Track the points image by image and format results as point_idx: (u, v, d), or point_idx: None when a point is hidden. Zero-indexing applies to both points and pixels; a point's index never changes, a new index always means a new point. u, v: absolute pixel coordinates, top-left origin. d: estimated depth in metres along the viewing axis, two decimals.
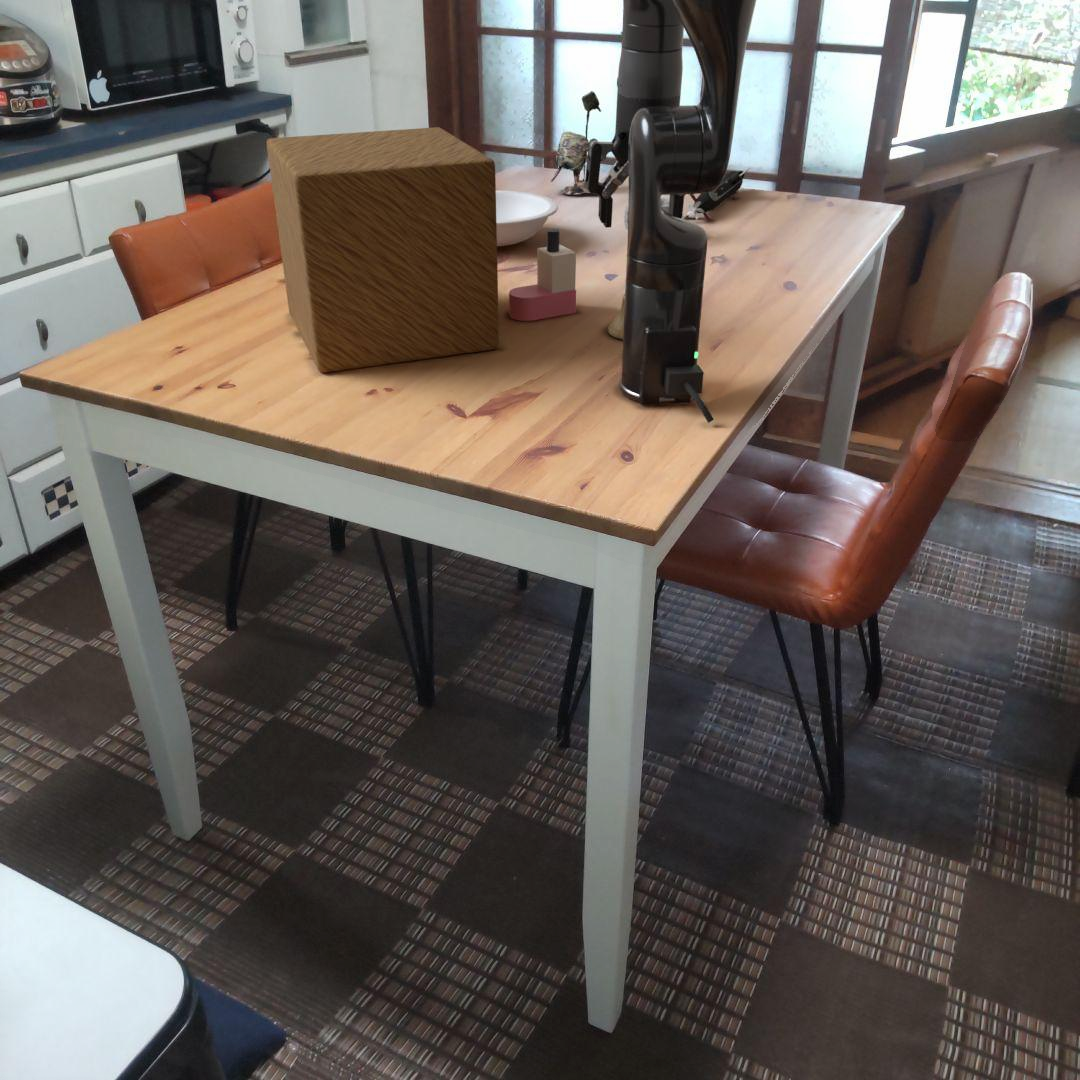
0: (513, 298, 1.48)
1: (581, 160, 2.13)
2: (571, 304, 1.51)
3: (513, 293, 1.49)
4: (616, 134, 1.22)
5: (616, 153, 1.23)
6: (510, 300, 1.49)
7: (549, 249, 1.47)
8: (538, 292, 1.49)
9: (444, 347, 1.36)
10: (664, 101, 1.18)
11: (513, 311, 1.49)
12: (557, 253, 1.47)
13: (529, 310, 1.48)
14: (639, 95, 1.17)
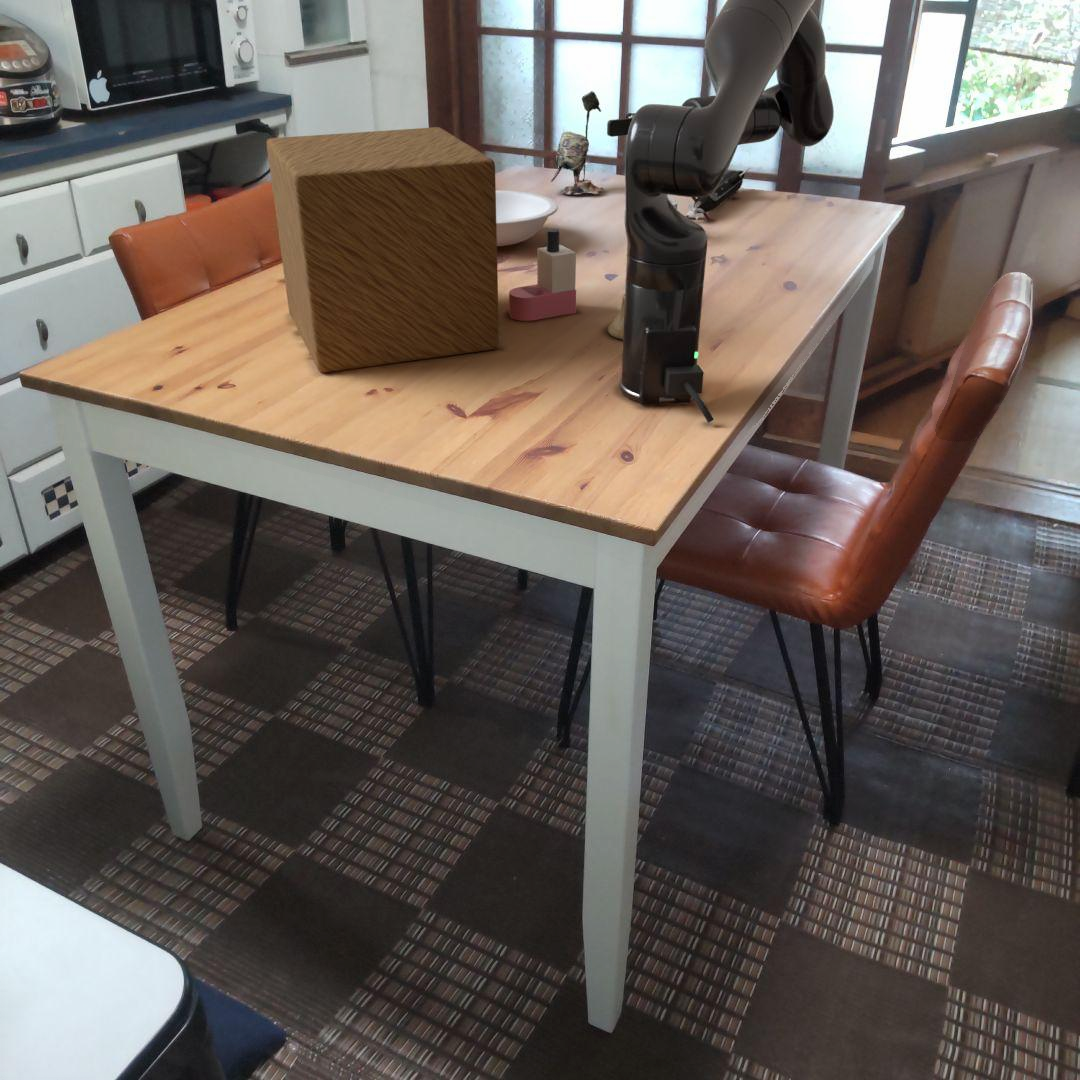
0: (513, 298, 1.48)
1: (581, 160, 2.13)
2: (571, 304, 1.51)
3: (513, 293, 1.49)
4: None
5: None
6: (510, 300, 1.49)
7: (549, 249, 1.47)
8: (538, 292, 1.49)
9: (444, 347, 1.36)
10: None
11: (513, 311, 1.49)
12: (557, 253, 1.47)
13: (529, 310, 1.48)
14: None
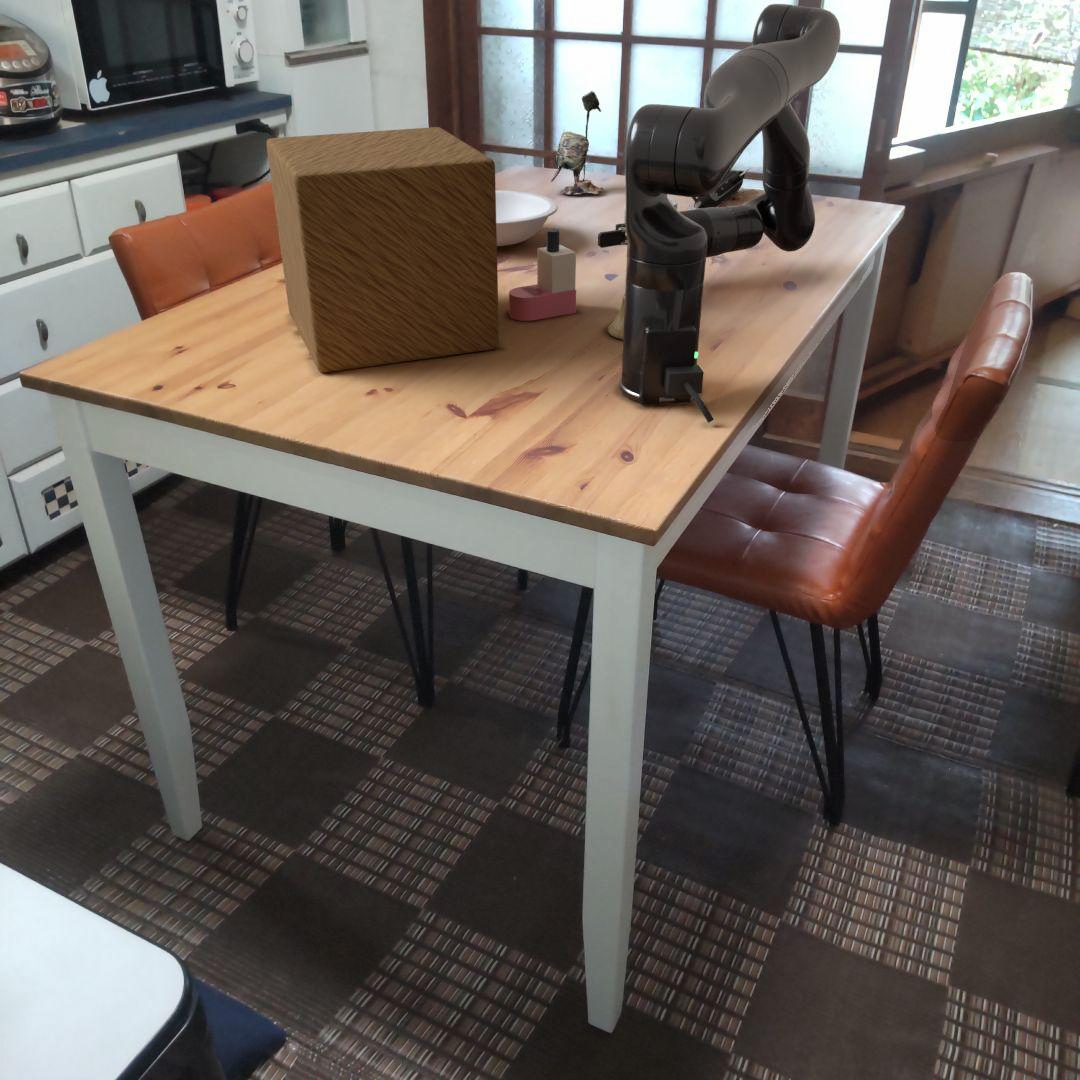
0: (513, 298, 1.48)
1: (581, 160, 2.13)
2: (571, 304, 1.51)
3: (513, 293, 1.49)
4: None
5: None
6: (510, 300, 1.49)
7: (549, 249, 1.47)
8: (538, 292, 1.49)
9: (444, 347, 1.36)
10: (703, 212, 1.56)
11: (513, 311, 1.49)
12: (557, 253, 1.47)
13: (529, 310, 1.48)
14: None
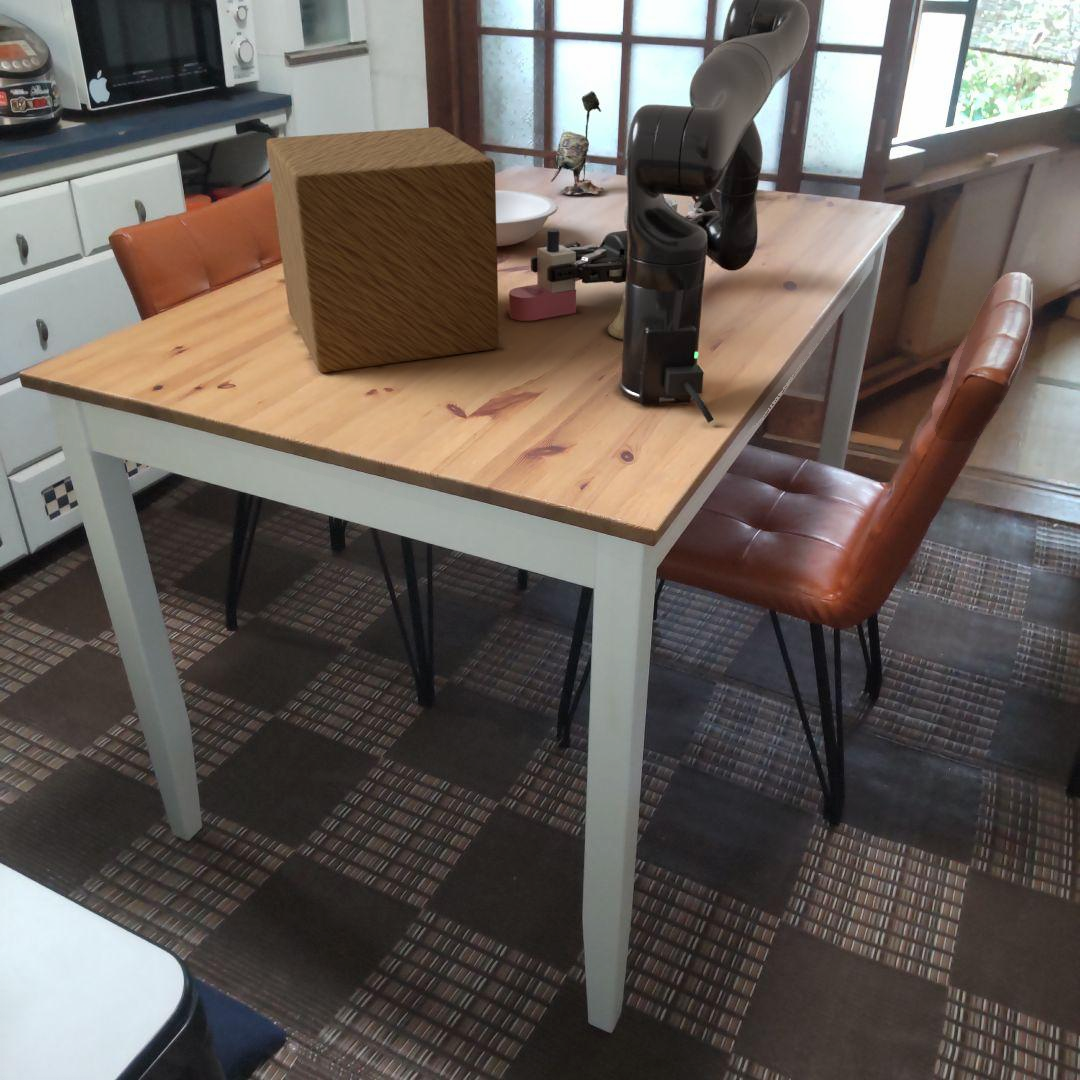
0: (513, 298, 1.48)
1: (581, 160, 2.13)
2: (571, 304, 1.51)
3: (513, 293, 1.49)
4: None
5: None
6: (510, 300, 1.49)
7: (549, 249, 1.47)
8: (538, 292, 1.49)
9: (444, 347, 1.36)
10: None
11: (513, 311, 1.49)
12: (557, 253, 1.47)
13: (529, 310, 1.48)
14: None
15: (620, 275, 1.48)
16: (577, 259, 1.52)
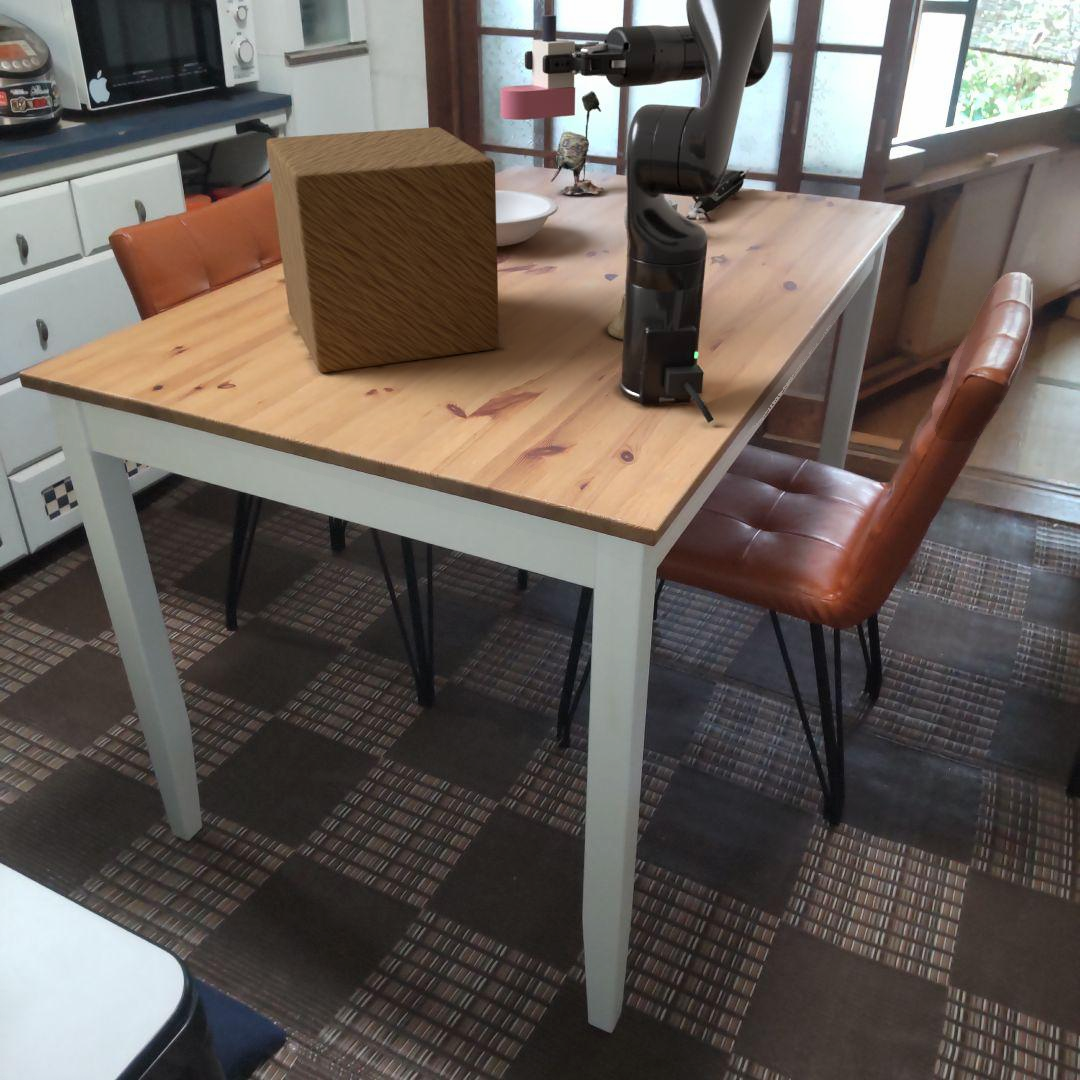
0: (505, 93, 1.33)
1: (581, 160, 2.13)
2: (569, 104, 1.36)
3: (505, 88, 1.34)
4: None
5: None
6: (502, 97, 1.34)
7: (545, 38, 1.33)
8: (533, 88, 1.34)
9: (444, 347, 1.36)
10: (645, 27, 1.38)
11: (505, 109, 1.34)
12: (554, 42, 1.32)
13: (523, 107, 1.33)
14: None
15: (624, 67, 1.33)
16: None
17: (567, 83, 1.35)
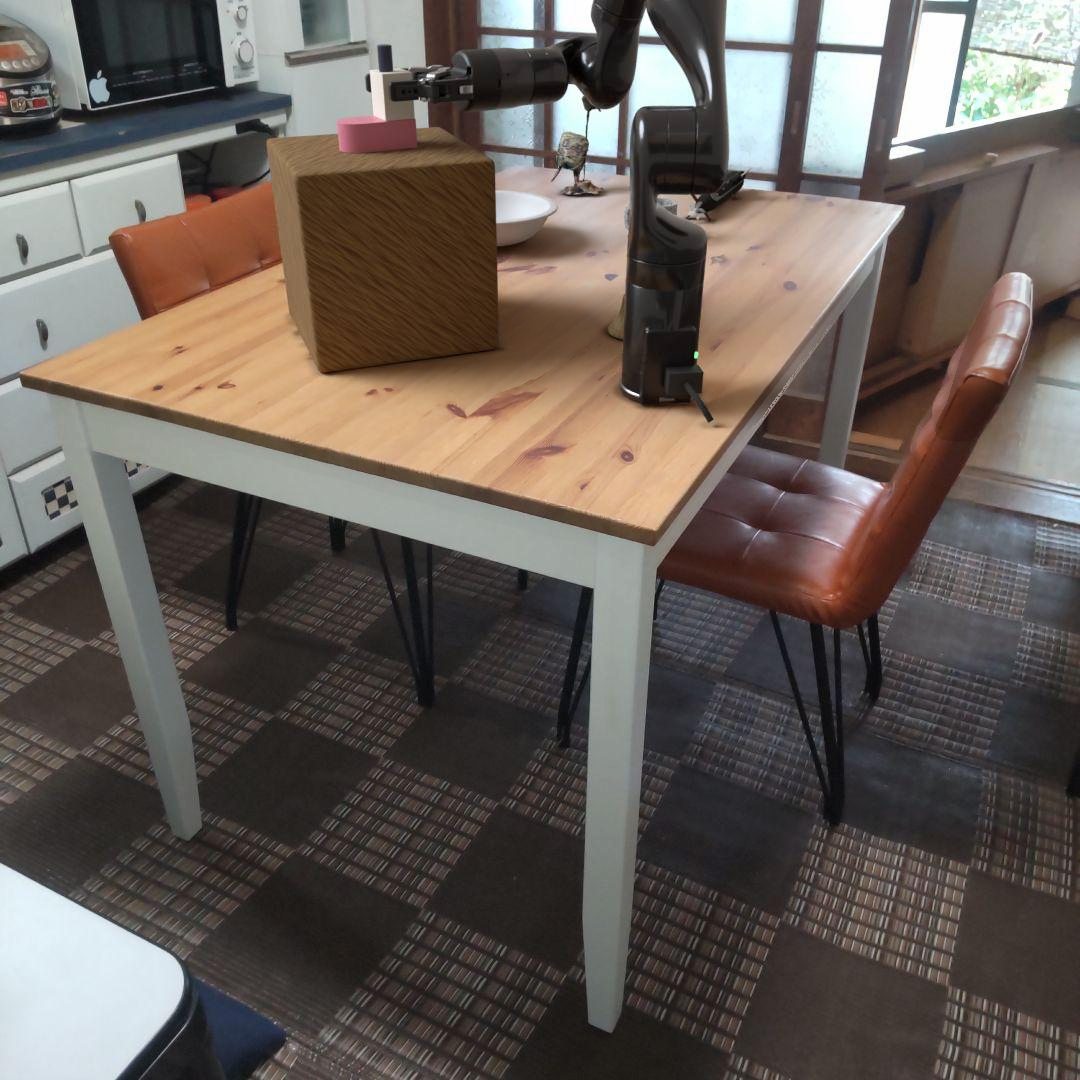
0: (340, 125, 1.28)
1: (581, 160, 2.13)
2: (411, 136, 1.31)
3: (341, 121, 1.29)
4: None
5: None
6: (338, 129, 1.29)
7: (381, 68, 1.27)
8: (371, 120, 1.29)
9: (444, 347, 1.36)
10: (490, 50, 1.32)
11: (342, 142, 1.29)
12: (389, 72, 1.27)
13: (359, 140, 1.28)
14: None
15: (472, 92, 1.28)
16: (419, 81, 1.32)
17: (407, 115, 1.30)
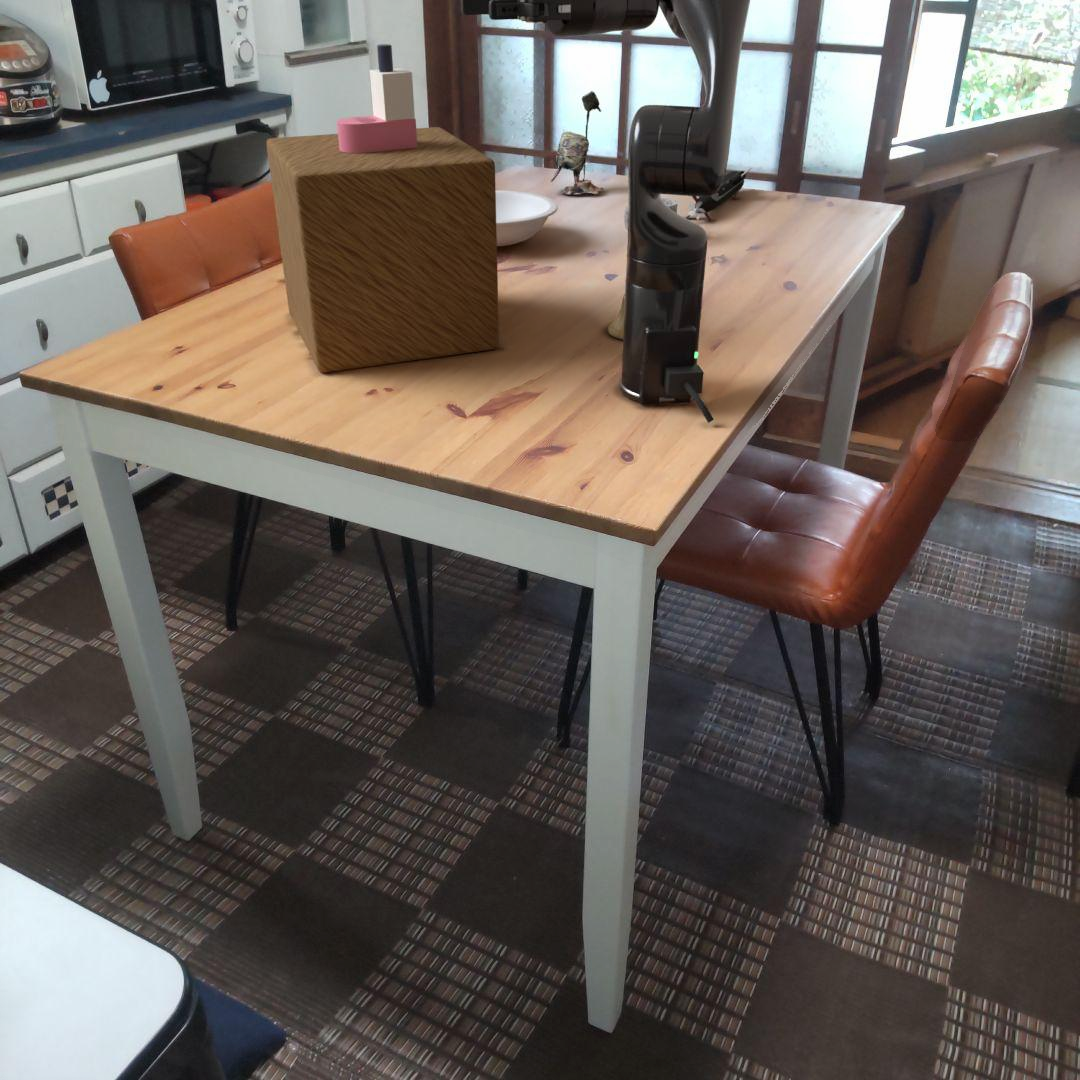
0: (340, 125, 1.28)
1: (581, 160, 2.13)
2: (411, 136, 1.31)
3: (341, 121, 1.29)
4: None
5: None
6: (338, 129, 1.29)
7: (381, 68, 1.27)
8: (371, 120, 1.29)
9: (444, 347, 1.36)
10: None
11: (342, 142, 1.29)
12: (389, 72, 1.27)
13: (359, 140, 1.28)
14: None
15: (570, 12, 1.29)
16: None
17: (407, 115, 1.30)
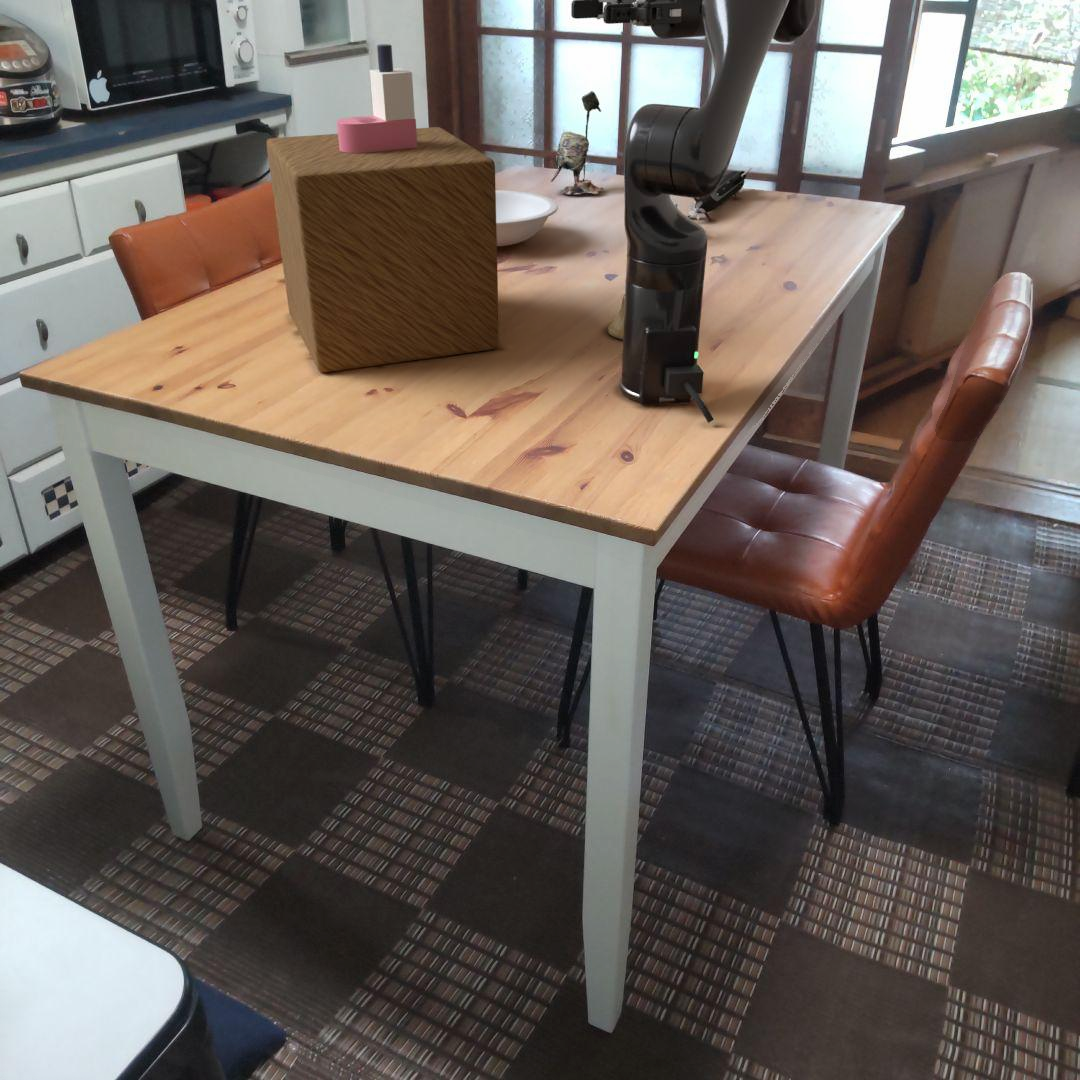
0: (340, 125, 1.28)
1: (581, 160, 2.13)
2: (411, 136, 1.31)
3: (341, 121, 1.29)
4: None
5: None
6: (338, 129, 1.29)
7: (381, 68, 1.27)
8: (371, 120, 1.29)
9: (444, 347, 1.36)
10: None
11: (342, 142, 1.29)
12: (389, 72, 1.27)
13: (359, 140, 1.28)
14: None
15: (680, 16, 1.33)
16: None
17: (407, 115, 1.30)
